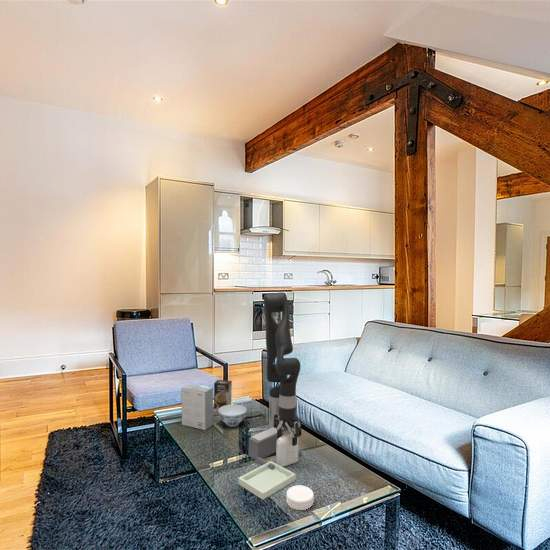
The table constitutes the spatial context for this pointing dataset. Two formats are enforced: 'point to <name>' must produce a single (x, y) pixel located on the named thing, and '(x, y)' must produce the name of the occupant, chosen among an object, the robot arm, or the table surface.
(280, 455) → the photo printer
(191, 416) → the hard drive box
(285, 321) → the robot arm
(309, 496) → the white round puck
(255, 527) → the table surface
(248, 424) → the table surface
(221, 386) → the coffee box
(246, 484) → the tray
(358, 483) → the table surface
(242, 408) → the chinaware
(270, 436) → the dock
